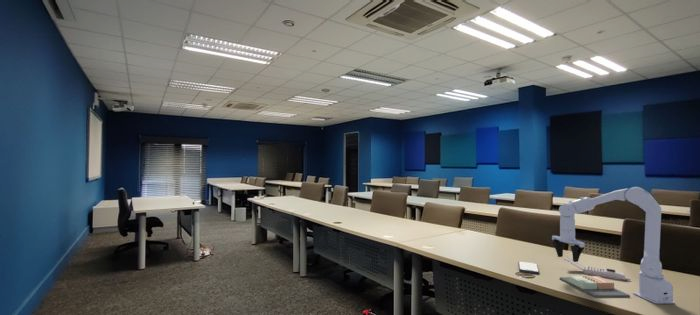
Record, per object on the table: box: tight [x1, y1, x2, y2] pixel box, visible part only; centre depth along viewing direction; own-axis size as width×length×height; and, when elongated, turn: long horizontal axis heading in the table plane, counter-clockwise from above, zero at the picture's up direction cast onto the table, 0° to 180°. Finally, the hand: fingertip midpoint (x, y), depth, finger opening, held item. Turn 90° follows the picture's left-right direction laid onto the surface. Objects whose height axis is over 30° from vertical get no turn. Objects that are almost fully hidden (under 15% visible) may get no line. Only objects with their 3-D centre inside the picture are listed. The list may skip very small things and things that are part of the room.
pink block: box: [583, 275, 615, 289], centre depth 136 cm, size 8×7×3 cm
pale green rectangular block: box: [569, 275, 597, 289], centre depth 136 cm, size 8×6×3 cm
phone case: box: [518, 261, 540, 275], centre depth 160 cm, size 9×2×16 cm
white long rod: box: [564, 256, 631, 282], centre depth 153 cm, size 6×6×25 cm
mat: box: [559, 276, 631, 298], centre depth 136 cm, size 20×14×1 cm
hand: (567, 259), depth 145 cm, fingers open, 7 cm apart
